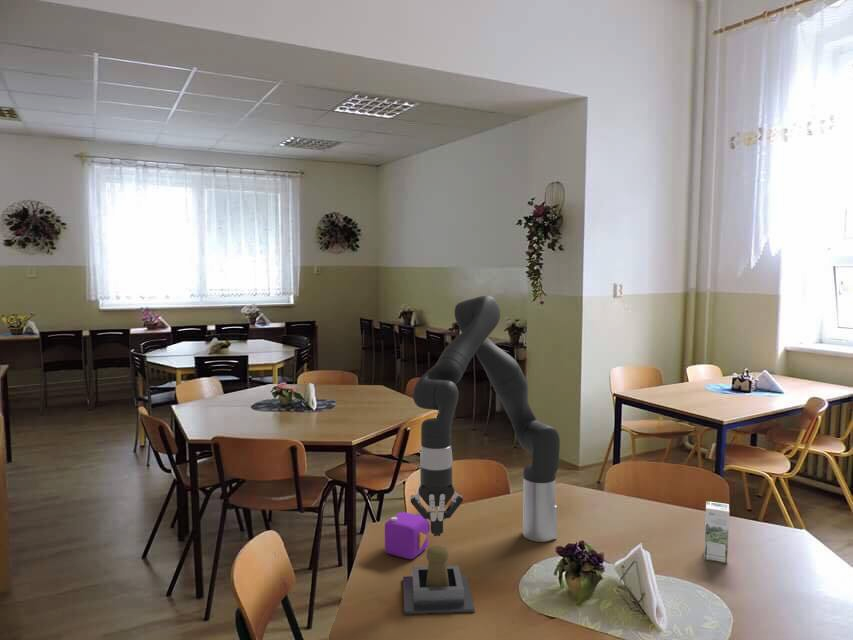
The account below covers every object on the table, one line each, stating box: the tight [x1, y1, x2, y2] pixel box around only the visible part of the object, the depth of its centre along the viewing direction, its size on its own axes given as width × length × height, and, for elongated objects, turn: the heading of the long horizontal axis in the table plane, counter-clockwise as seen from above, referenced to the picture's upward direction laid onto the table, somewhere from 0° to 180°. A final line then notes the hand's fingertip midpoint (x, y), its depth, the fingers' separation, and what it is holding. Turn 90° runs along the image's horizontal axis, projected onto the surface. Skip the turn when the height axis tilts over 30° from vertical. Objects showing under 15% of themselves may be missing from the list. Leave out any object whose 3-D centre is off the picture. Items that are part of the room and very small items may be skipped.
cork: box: [426, 544, 449, 587], centre depth 150 cm, size 6×6×11 cm
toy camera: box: [384, 511, 431, 560], centre depth 174 cm, size 11×14×10 cm
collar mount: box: [402, 565, 476, 616], centre depth 150 cm, size 16×16×4 cm
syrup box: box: [703, 500, 730, 564], centre depth 168 cm, size 6×6×14 cm
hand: (436, 534), depth 149 cm, fingers closed
